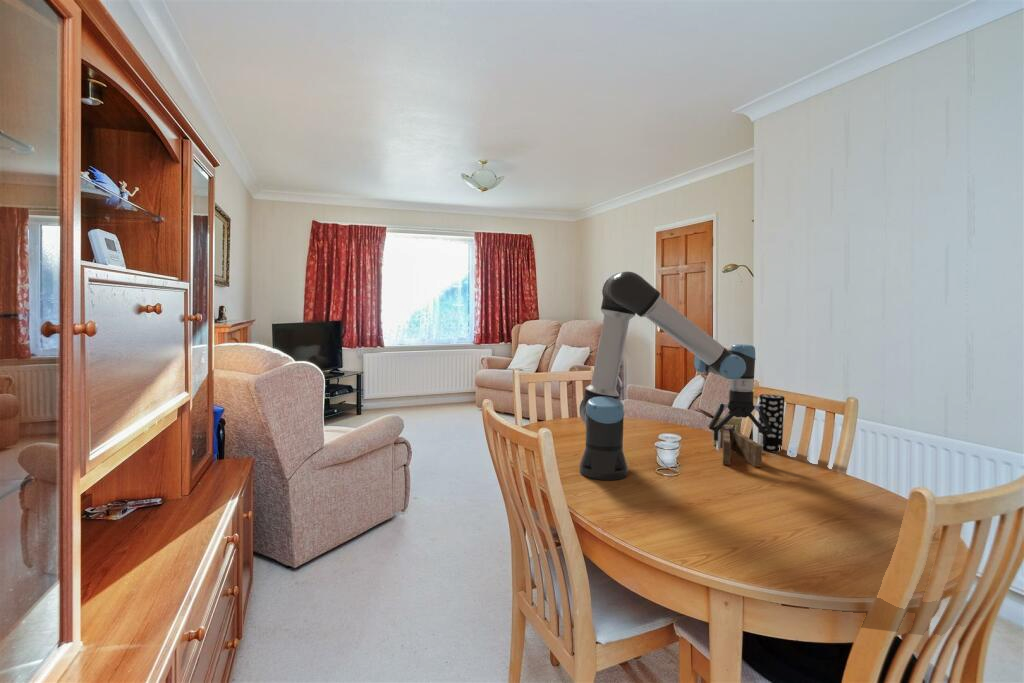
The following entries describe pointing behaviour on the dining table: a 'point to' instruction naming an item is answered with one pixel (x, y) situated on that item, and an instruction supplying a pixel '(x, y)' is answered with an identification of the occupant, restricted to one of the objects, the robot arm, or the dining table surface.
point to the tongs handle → (727, 428)
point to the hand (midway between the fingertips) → (738, 451)
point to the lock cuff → (732, 421)
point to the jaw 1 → (726, 447)
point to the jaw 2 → (746, 448)
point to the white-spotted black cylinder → (772, 421)
